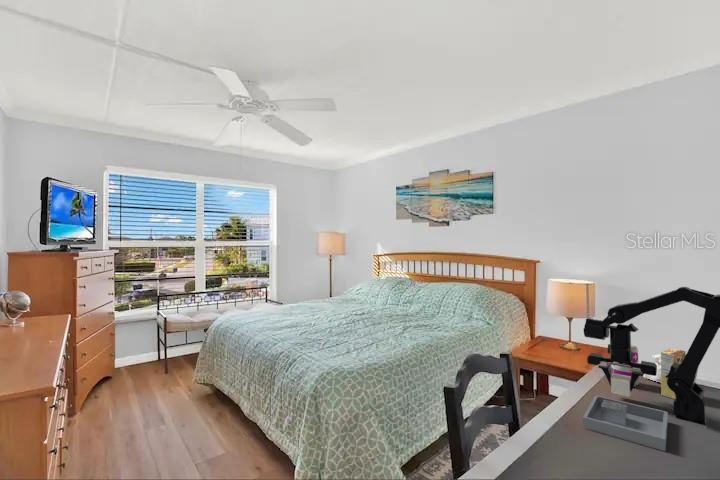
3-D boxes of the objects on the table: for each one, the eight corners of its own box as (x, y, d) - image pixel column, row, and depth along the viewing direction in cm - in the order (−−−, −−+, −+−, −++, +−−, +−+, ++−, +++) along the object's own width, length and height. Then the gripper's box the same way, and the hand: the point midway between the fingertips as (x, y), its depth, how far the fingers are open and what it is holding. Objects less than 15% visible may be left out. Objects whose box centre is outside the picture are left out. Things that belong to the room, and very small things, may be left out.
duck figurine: (681, 392, 133) (685, 364, 137) (676, 383, 129) (681, 355, 134) (641, 382, 143) (647, 356, 147) (636, 374, 139) (641, 348, 143)
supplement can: (643, 388, 131) (642, 347, 132) (618, 386, 133) (617, 346, 133) (631, 380, 139) (630, 341, 140) (608, 378, 141) (607, 340, 141)
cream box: (631, 391, 121) (631, 376, 121) (629, 396, 117) (629, 381, 117) (613, 387, 125) (613, 373, 125) (611, 392, 120) (610, 377, 120)
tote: (667, 423, 105) (667, 411, 105) (665, 453, 90) (665, 439, 90) (595, 405, 117) (595, 395, 117) (583, 429, 102) (582, 417, 103)
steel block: (627, 418, 108) (627, 405, 108) (625, 426, 103) (625, 412, 103) (604, 412, 112) (603, 399, 112) (600, 419, 107) (600, 406, 107)
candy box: (672, 390, 129) (671, 347, 130) (687, 394, 126) (685, 350, 126) (660, 395, 125) (659, 351, 125) (676, 399, 121) (674, 354, 122)
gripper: (657, 342, 121) (658, 388, 121) (592, 333, 133) (593, 375, 133) (655, 349, 113) (656, 399, 112) (586, 339, 125) (587, 384, 125)
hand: (621, 388), depth 121 cm, fingers closed on cream box, 5 cm apart
